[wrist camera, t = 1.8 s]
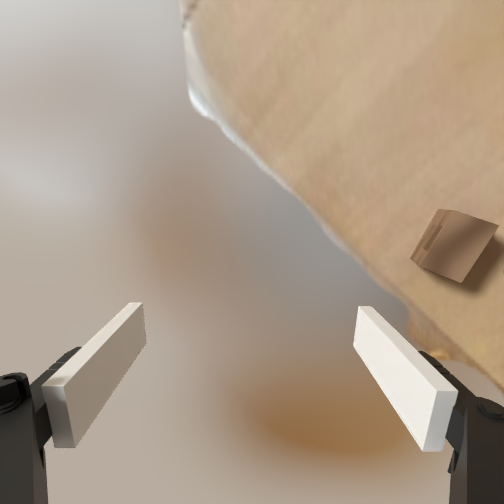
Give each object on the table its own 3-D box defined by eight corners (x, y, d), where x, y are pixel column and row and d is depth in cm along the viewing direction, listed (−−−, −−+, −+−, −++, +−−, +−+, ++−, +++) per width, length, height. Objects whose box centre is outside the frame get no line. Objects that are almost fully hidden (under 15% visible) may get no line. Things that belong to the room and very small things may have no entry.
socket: (476, 221, 35) (499, 225, 30) (444, 271, 38) (461, 283, 32) (438, 209, 37) (454, 210, 31) (410, 258, 39) (420, 267, 34)
